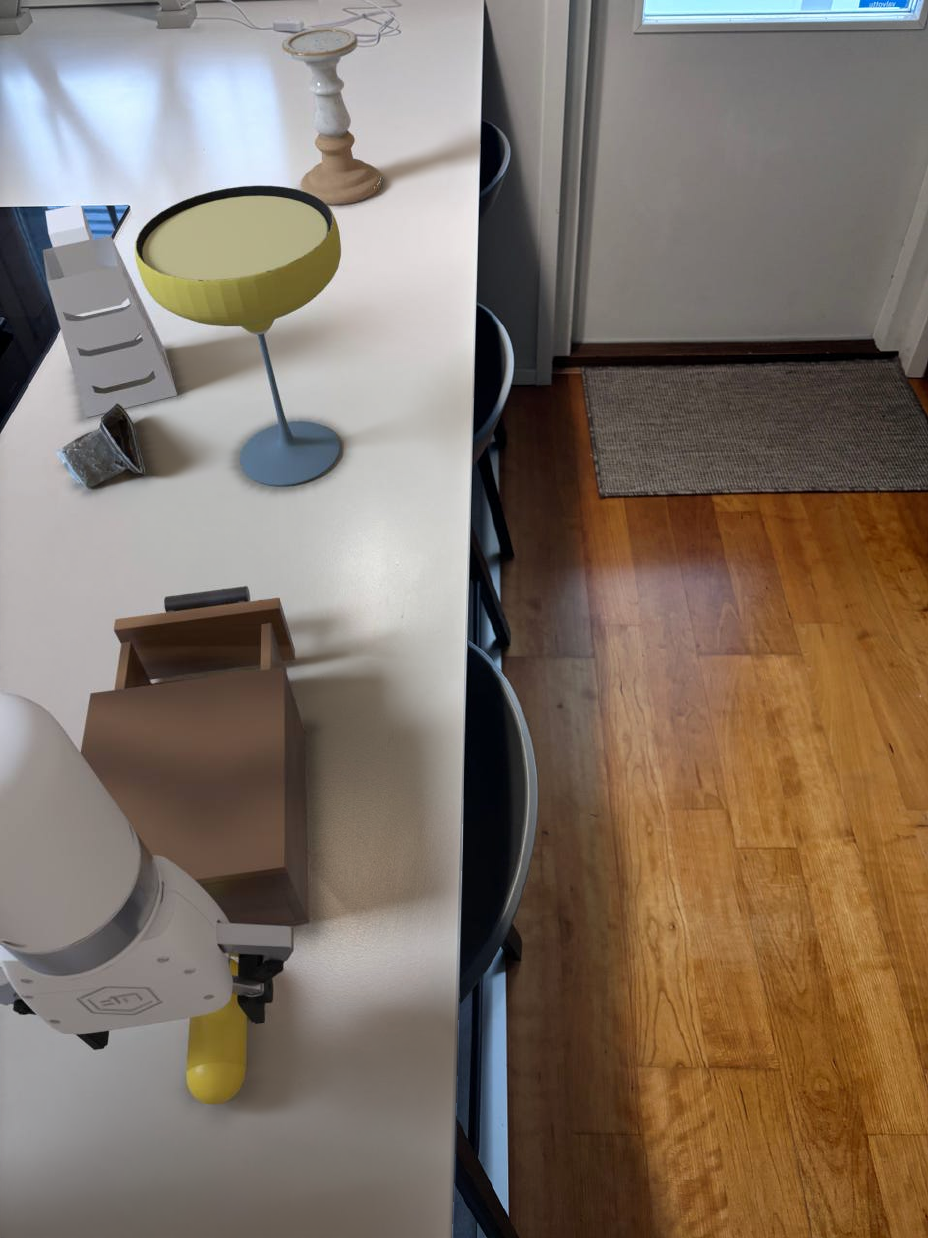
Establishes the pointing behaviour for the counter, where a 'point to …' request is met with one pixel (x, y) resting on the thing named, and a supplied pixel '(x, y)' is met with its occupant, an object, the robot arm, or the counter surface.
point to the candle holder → (331, 118)
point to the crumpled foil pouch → (104, 450)
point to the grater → (101, 317)
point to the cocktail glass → (249, 292)
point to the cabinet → (213, 785)
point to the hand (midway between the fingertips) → (182, 1011)
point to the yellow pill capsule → (217, 1052)
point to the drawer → (202, 637)
